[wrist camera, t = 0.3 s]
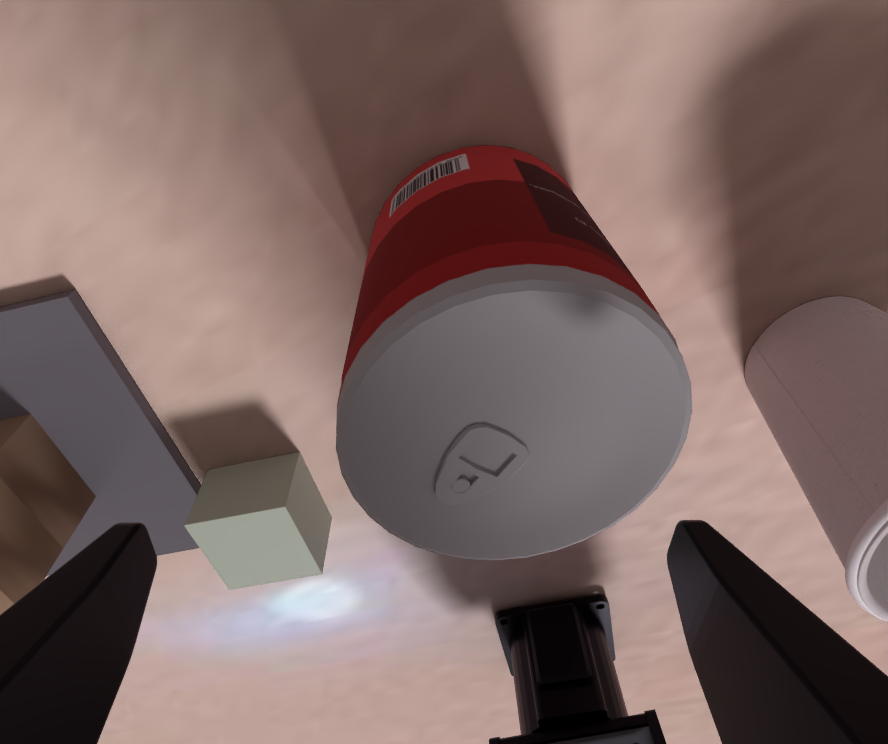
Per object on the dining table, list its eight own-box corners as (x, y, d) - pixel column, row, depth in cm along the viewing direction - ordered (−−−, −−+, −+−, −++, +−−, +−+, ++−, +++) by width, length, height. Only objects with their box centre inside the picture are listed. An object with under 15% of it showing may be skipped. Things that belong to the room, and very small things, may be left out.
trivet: (231, 533, 30) (228, 542, 29) (-17, 578, 31) (-24, 588, 31) (75, 289, 22) (67, 296, 22) (-243, 364, 24) (-258, 372, 23)
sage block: (332, 515, 30) (322, 574, 27) (248, 530, 30) (229, 589, 27) (300, 449, 27) (285, 506, 24) (209, 467, 28) (183, 525, 25)
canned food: (348, 313, 23) (299, 532, 14) (407, 103, 19) (391, 221, 10) (527, 362, 25) (589, 589, 16) (618, 179, 21) (773, 340, 11)
